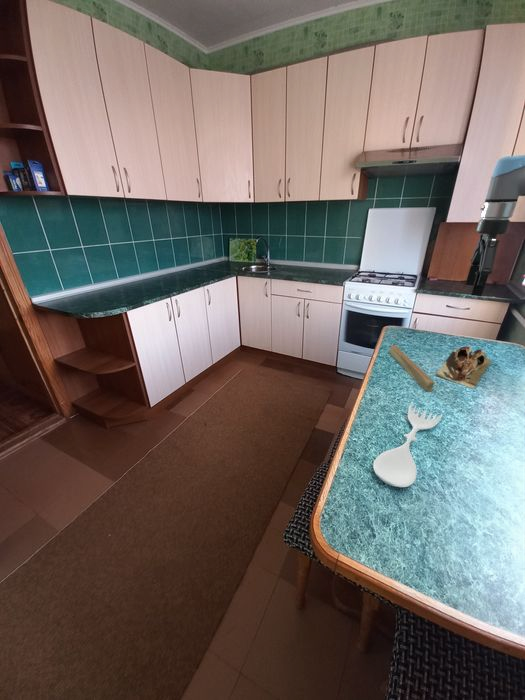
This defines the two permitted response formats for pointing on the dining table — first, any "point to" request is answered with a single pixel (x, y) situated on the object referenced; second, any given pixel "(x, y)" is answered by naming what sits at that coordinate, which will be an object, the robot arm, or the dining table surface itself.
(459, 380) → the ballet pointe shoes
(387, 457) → the spoon
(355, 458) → the dining table surface
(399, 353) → the light brown wooden bar
